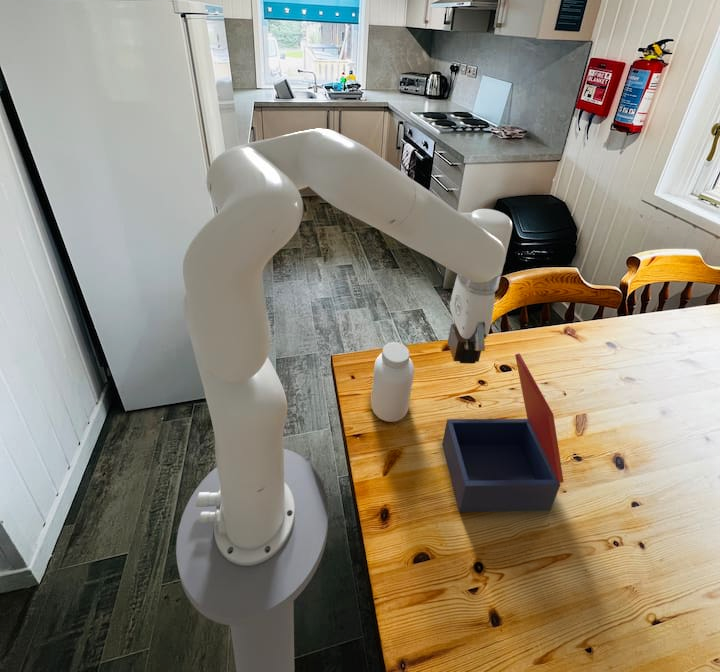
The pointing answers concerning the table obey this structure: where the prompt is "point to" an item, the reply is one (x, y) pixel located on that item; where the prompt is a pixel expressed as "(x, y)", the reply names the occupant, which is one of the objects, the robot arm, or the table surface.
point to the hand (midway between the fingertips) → (462, 350)
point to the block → (458, 343)
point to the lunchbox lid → (540, 417)
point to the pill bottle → (392, 382)
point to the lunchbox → (498, 466)
